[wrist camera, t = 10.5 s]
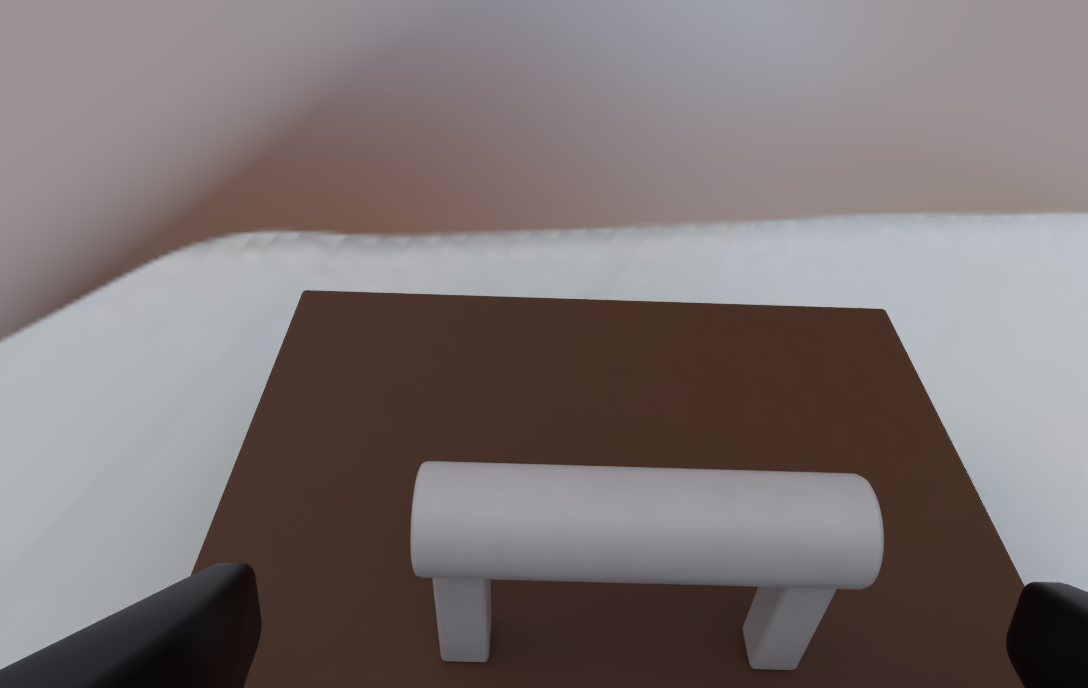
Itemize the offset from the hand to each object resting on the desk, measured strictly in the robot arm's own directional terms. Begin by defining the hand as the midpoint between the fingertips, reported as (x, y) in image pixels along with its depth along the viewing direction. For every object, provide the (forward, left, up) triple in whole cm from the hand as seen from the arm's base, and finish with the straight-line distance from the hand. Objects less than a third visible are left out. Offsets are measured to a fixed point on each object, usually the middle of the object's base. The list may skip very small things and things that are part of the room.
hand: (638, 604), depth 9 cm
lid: (+2, -2, -5) cm, 6 cm away
